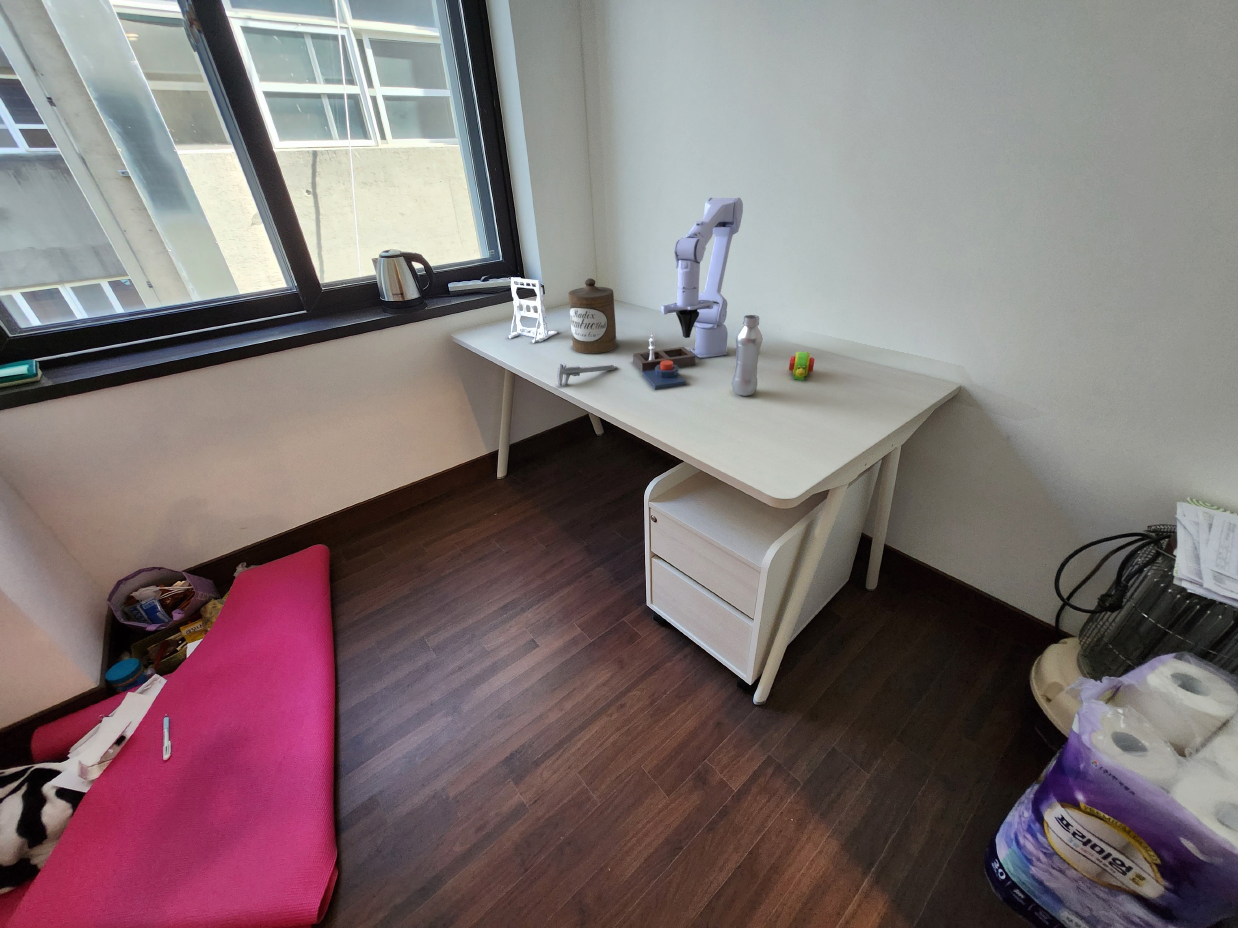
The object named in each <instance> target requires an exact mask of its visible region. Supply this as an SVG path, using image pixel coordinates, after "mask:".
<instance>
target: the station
mask: <svg viewBox="0 0 1238 928" xmlns="http://www.w3.org/2000/svg"><path fill="white" fill-rule="evenodd" d="M641 373H642V377H643V378H644V379H645V380H646V381H647V383H649V385H650V386H651V387H652V388H653V389H654V390H660V389H661V390H662V389H669V388H675V387H682V386H686V385H687V381H686V380H685V379H684V378H683V377H682V376H681V375H680V374H679V367H678V366H677V365H674V364H673V369H672V370H668V371H667V370H661V369H660V365H657V366H656V367H655V370H651V371H644V372H641Z"/></svg>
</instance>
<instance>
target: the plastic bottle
mask: <svg viewBox="0 0 1238 928" xmlns="http://www.w3.org/2000/svg"><path fill="white" fill-rule="evenodd" d="M742 325H743V326H742V328H740V330H739V331H738V332H737V334H736V336H735V349H736V350H735V351H736V357H735V358H736V359H735V367H734V371H733V377H732V379H731V380H732V381H731V389H732V391H733V393H734V394H736V395H739V396H744V397H745V396H752V395H754V393H756V391H757V388H758V362H759V356H760V352H761V348H762V344H763V339H764V338H763V335H762V332H761V330H760V329H759V326H760V316H759V315H756V314H747V315H744V316H743V322H742Z"/></svg>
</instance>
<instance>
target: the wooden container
mask: <svg viewBox="0 0 1238 928" xmlns="http://www.w3.org/2000/svg"><path fill="white" fill-rule="evenodd" d="M584 285H585V286H584V287H579V288H575V289H571V290H570V291H568V294H567V295H568V296H567V297H568V305H569V314H570V332H571V343H572V349H573V350H574V351H576V352H578V353H582V354H592V355H593V354H603V353H607V352H610V351H612V350H614V349H616V347H617V324H616V313H615V295H614V290H613V288H610V287H606V286H596V279H594V278H591V277H590V278H587V279H585V281H584Z"/></svg>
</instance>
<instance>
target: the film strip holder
mask: <svg viewBox="0 0 1238 928" xmlns="http://www.w3.org/2000/svg"><path fill="white" fill-rule="evenodd" d="M516 282H517V283H518V284H516ZM521 283H523V285H521ZM527 284H529V286H528V285H527ZM533 284H535V286H533ZM510 288H511V290H510V291H511V296H512V299H513V301H512V302H513V303H512V304H513V310H514V312H513V316H512V317H513V318H512V321H511V327H510V334H509V335H508V339H511V340H512V339H513V338H517V337H518V336H520V335H521V336H528V337H533V340H531V342H532V344H536V343H538V342H543V341H545V340H547V339H548V338H550V337H553V336H555V335H558V331H557V330H549V329H548V324H547V323H548V322H546V320H545V319H547V314H546V306H545V305H544V301H545V297H544V290H543V286H542V285H541V279H530V278H529V279H528V278H519V277H513V276H512V277H510ZM518 288H525V289H532V290H534V292H535V294H536V299H535V300H529V299H522V298H521V299H520V298H519V296H518V295H517V290H518ZM520 305H522V310H520V309H521V308H520ZM527 306H529V308H530V311H528V309H527ZM534 307H537V312H535V309H534ZM522 317H529V318H535V319H537V321H536V326H535V327H526V326H523V324H522V322H521V318H522ZM515 323H516V330H517V331H514V328H515V327H514V326H515ZM539 324H540V325H539Z"/></svg>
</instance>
